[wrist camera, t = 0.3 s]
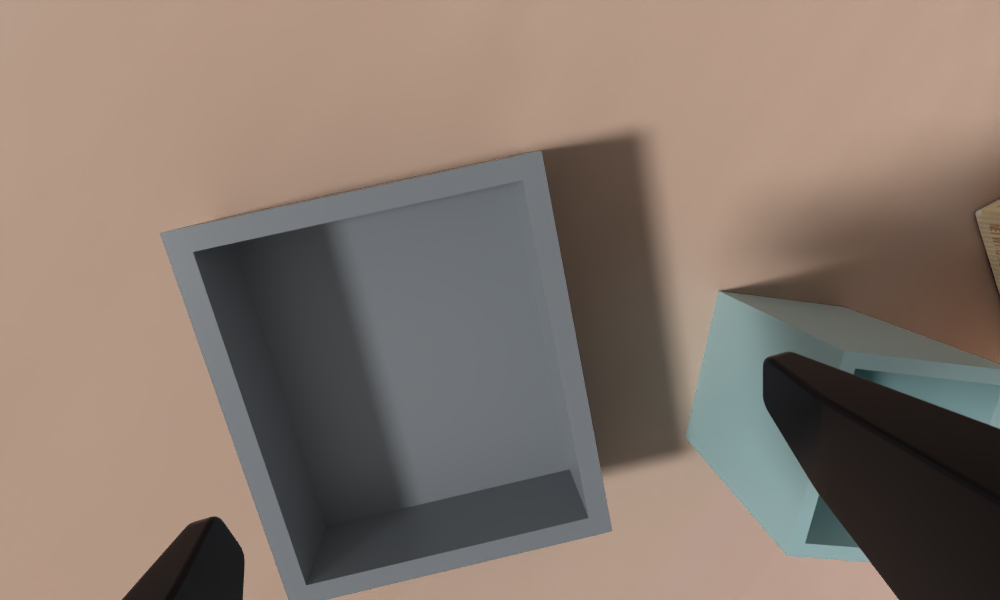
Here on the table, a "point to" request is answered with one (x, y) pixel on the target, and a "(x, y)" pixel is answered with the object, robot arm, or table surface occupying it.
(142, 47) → the table surface
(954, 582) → the robot arm
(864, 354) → the small crate
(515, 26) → the table surface
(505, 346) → the large crate
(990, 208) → the coffeecake box
